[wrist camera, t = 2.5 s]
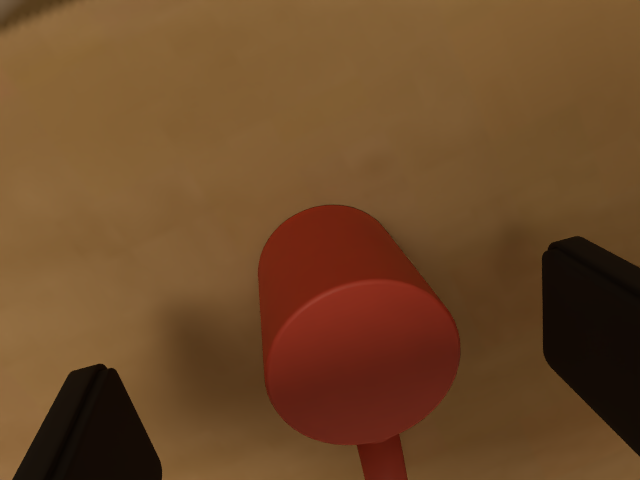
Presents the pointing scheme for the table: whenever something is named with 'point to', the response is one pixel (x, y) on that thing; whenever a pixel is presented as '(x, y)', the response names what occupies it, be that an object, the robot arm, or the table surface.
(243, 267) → the table surface
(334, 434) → the red round-headed part
